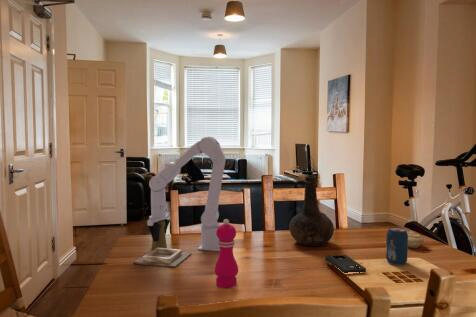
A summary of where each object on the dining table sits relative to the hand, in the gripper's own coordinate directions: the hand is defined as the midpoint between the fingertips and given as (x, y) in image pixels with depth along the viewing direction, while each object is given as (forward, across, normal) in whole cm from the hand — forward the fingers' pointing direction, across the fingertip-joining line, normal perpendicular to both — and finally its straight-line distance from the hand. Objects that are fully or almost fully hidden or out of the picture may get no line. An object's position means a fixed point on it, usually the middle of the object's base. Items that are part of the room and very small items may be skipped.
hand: (159, 239), depth 150 cm
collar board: (+3, +12, +8) cm, 15 cm away
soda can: (+4, -7, +89) cm, 89 cm away
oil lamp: (+4, -31, +97) cm, 102 cm away
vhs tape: (+4, +2, +72) cm, 72 cm away
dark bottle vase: (+4, -22, +58) cm, 62 cm away
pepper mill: (+3, +27, +37) cm, 46 cm away
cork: (+3, 0, 0) cm, 3 cm away
